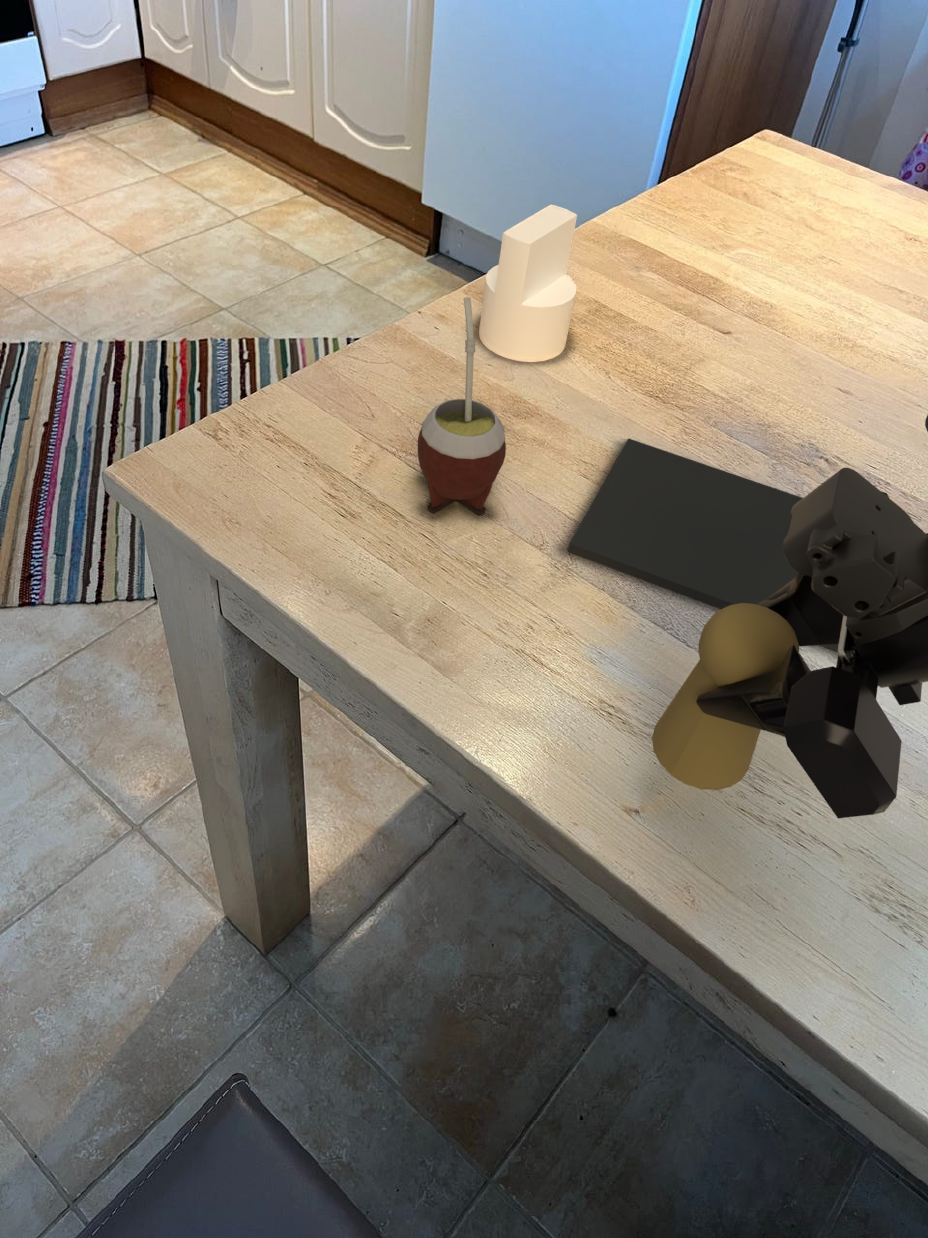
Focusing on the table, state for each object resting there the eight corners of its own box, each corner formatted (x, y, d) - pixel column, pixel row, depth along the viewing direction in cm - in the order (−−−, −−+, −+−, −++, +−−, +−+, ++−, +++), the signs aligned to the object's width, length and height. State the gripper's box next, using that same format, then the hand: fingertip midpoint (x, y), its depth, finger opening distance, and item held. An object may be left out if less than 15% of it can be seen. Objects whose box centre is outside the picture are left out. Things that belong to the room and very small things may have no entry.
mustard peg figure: (711, 696, 61) (767, 574, 52) (770, 770, 57) (840, 651, 49) (632, 725, 58) (678, 603, 50) (689, 804, 55) (748, 686, 47)
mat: (865, 529, 82) (870, 520, 81) (838, 653, 72) (843, 644, 71) (625, 446, 86) (628, 437, 86) (567, 552, 76) (569, 543, 75)
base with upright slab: (509, 305, 101) (526, 192, 93) (581, 337, 99) (605, 224, 90) (461, 337, 96) (474, 222, 87) (536, 372, 93) (557, 256, 84)
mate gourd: (457, 536, 76) (478, 375, 65) (389, 487, 79) (397, 326, 68) (517, 497, 80) (546, 339, 69) (450, 452, 83) (467, 294, 72)
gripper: (951, 356, 46) (674, 467, 56) (933, 607, 34) (583, 691, 44) (1034, 528, 50) (762, 602, 60) (1044, 805, 38) (701, 840, 48)
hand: (709, 671), depth 53 cm, fingers closed on mustard peg figure, 5 cm apart
